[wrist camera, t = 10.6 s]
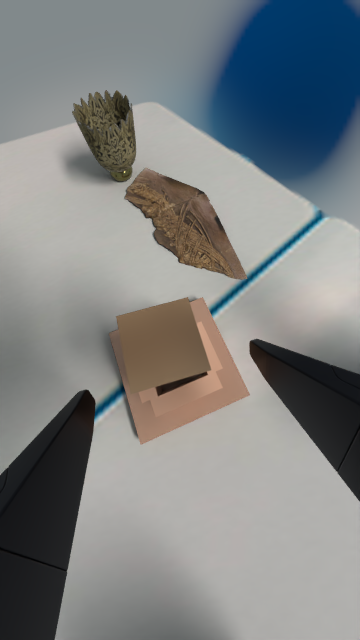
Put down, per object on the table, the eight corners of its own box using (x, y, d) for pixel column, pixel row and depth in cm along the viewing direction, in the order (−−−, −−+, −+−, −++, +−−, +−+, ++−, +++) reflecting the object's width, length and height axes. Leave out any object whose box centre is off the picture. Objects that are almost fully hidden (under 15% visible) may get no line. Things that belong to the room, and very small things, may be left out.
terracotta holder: (246, 393, 19) (268, 400, 14) (143, 440, 18) (128, 466, 13) (201, 300, 22) (207, 280, 17) (112, 334, 21) (91, 323, 16)
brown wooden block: (192, 371, 19) (211, 370, 6) (165, 379, 18) (130, 394, 6) (184, 345, 20) (187, 297, 7) (158, 352, 19) (116, 316, 7)
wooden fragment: (115, 185, 29) (112, 178, 28) (170, 160, 30) (170, 153, 29) (203, 305, 22) (204, 302, 21) (267, 265, 24) (271, 261, 23)
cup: (96, 167, 30) (66, 97, 22) (136, 156, 30) (120, 83, 23) (107, 197, 28) (79, 130, 20) (150, 184, 28) (138, 114, 21)
